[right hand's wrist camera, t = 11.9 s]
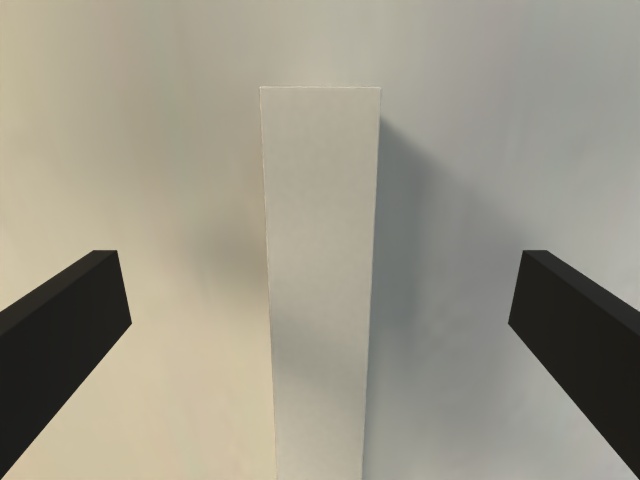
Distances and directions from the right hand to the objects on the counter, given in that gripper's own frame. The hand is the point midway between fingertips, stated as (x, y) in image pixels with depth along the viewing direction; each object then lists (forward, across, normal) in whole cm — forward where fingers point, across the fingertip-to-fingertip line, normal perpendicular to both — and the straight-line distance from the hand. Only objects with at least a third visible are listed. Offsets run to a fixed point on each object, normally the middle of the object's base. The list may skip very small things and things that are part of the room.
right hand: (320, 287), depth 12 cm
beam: (+10, 0, -25) cm, 27 cm away
